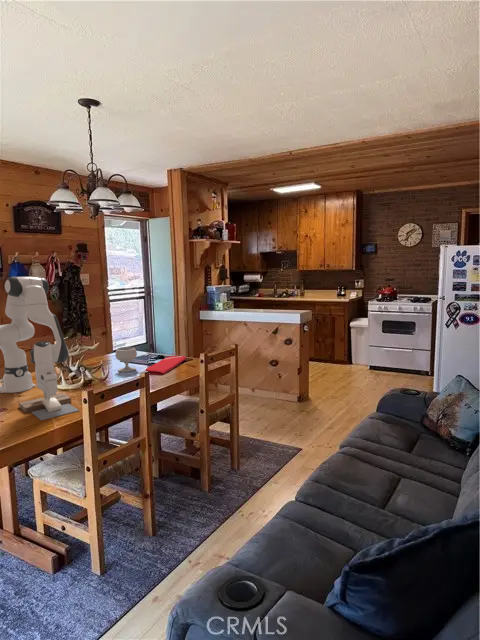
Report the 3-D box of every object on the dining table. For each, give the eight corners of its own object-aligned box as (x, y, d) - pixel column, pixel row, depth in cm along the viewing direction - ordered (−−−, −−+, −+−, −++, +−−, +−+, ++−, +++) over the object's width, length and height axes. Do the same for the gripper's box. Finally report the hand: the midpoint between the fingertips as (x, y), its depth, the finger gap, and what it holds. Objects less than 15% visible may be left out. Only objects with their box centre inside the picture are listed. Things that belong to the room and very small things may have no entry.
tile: (42, 403, 218) (42, 399, 217) (54, 400, 221) (54, 397, 221) (49, 412, 211) (49, 408, 211) (61, 408, 215) (61, 405, 215)
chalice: (141, 369, 291) (140, 348, 289) (123, 374, 281) (122, 351, 279) (130, 366, 301) (129, 345, 299) (112, 370, 291) (111, 348, 289)
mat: (31, 412, 212) (31, 411, 212) (68, 403, 224) (67, 403, 224) (41, 420, 201) (41, 419, 201) (79, 410, 213) (79, 410, 213)
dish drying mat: (141, 374, 280) (140, 369, 280) (167, 360, 320) (167, 355, 319) (163, 375, 276) (163, 370, 276) (187, 360, 316) (187, 356, 315)
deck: (19, 407, 221) (18, 402, 220) (62, 397, 235) (62, 393, 235) (26, 413, 212) (25, 408, 212) (71, 402, 226) (70, 397, 226)
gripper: (32, 371, 224) (34, 396, 226) (45, 378, 209) (48, 405, 211) (44, 368, 228) (47, 394, 230) (58, 375, 213) (61, 402, 215)
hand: (47, 399), depth 220 cm, fingers closed
